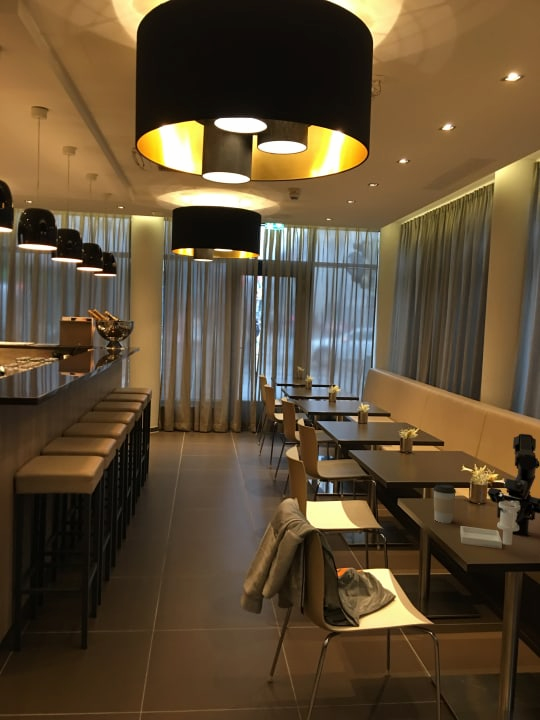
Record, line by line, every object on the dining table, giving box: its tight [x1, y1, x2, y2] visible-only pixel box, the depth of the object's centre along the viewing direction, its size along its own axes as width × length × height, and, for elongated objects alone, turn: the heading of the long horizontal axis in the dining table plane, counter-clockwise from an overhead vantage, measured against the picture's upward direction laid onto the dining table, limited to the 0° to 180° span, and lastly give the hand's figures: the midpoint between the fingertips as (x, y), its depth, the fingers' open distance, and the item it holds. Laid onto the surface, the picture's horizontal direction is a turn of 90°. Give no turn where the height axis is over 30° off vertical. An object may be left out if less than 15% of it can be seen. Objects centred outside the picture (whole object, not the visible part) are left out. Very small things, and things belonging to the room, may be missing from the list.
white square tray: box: [459, 525, 503, 550], centre depth 217 cm, size 14×14×2 cm
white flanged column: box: [496, 501, 520, 546], centre depth 204 cm, size 7×7×15 cm
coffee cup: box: [433, 482, 457, 524], centre depth 239 cm, size 9×9×15 cm
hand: (506, 519), depth 203 cm, fingers closed on white flanged column, 6 cm apart
